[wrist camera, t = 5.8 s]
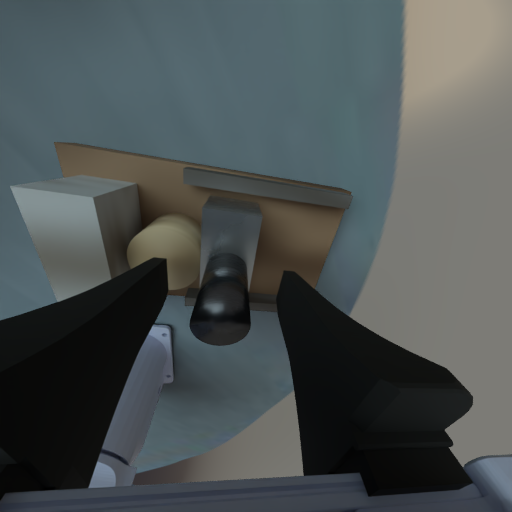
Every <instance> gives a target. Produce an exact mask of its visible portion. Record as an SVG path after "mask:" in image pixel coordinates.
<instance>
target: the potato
mask: <svg viewBox="0 0 512 512" xmlns="http://www.w3.org/2000/svg"><path fill="white" fill-rule="evenodd" d="M201 227H202V225H201V224H200V223H199V222H198V221H196V220H195V219H194V218H192V217H190V216H188V215H185V214H181V213H167V214H164V215H162V216H160V217H158V218H157V219H156V220H154V221H153V222H152V223H151V224H150V225H148V226H147V227H146V228H145V229H143V230H142V231H141V232H140V233H139V234H137V235H136V236H135V237H134V238H133V239H132V240H131V242H130V243H129V246H128V249H127V260H128V263H129V266H130V268H131V269H132V268H134V267H136V266H138V265H140V264H141V263H143V262H145V261H147V260H149V259H151V258H153V257H157V258H167V272H168V289H169V290H177V289H181V288H184V287H187V286H189V285H190V284H192V283H193V282H194V281H195V280H196V279H197V277H198V275H199V273H200V258H201Z"/></svg>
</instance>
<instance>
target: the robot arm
mask: <svg viewBox="0 0 512 512" xmlns="http://www.w3.org/2000/svg"><path fill="white" fill-rule="evenodd" d="M168 291H169V289H168V272H167V258H157V257H153V258H151V259H149V260H147V261H145V262H143V263H141V264H140V265H138V266H136V267H134V268H132V269H130V270H128V271H126V272H125V273H123V274H121V275H119V276H117V277H115V278H113V279H111V280H109V281H106V282H104V283H102V284H100V285H98V286H96V287H94V288H92V289H89V290H87V291H85V292H82V293H80V294H77V295H75V296H72V297H70V298H67V299H65V300H62V301H59V302H56V303H54V304H51V305H48V306H45V307H42V308H39V309H36V310H33V311H30V312H27V313H24V314H21V315H18V316H14V317H11V318H8V319H4V320H1V321H0V512H512V454H511V455H490V456H482V457H479V458H476V459H474V460H471V461H469V462H468V463H466V464H465V465H464V467H462V466H461V465H460V463H459V462H458V460H457V459H456V457H455V456H454V455H453V453H452V452H451V451H450V449H449V447H451V446H453V442H452V440H451V439H450V437H449V436H448V434H447V433H446V432H445V429H446V428H447V427H449V426H450V425H451V424H453V423H454V422H455V421H457V420H458V419H459V418H461V417H462V416H463V415H465V414H466V413H467V412H468V411H469V409H470V408H471V407H472V404H473V396H472V395H471V394H470V392H469V391H468V390H467V389H466V388H465V387H464V386H463V385H462V384H461V383H460V382H459V381H458V380H457V379H456V377H454V375H452V373H451V372H450V371H449V370H447V369H446V368H445V367H442V366H440V365H438V364H436V363H434V362H431V361H429V360H427V359H425V358H422V357H420V356H418V355H416V354H414V353H412V352H409V351H408V350H405V349H404V348H402V347H400V346H398V345H396V344H394V343H392V342H390V341H388V340H386V339H384V338H383V337H381V336H379V335H377V334H376V333H374V332H372V331H371V330H369V329H367V328H366V327H364V326H362V325H361V324H359V323H358V322H356V321H355V320H353V319H352V318H350V317H349V316H347V315H346V314H345V313H343V312H342V311H340V310H339V309H338V308H336V307H335V306H334V305H333V304H331V303H330V302H329V301H328V300H326V299H325V298H324V297H323V296H322V295H320V294H319V293H318V292H317V291H316V290H315V289H314V288H313V287H312V286H310V285H309V284H308V283H307V282H306V281H305V280H304V279H303V278H302V277H301V276H299V275H298V274H297V273H296V272H295V271H286V270H284V271H283V275H282V279H281V282H280V286H279V290H278V293H277V297H276V303H277V312H278V317H279V321H280V325H281V329H282V333H283V336H284V340H285V344H286V348H287V351H288V356H289V360H290V366H291V372H292V378H293V385H294V392H295V399H296V406H297V414H298V423H299V431H300V440H301V450H302V461H303V473H304V476H295V477H280V478H279V477H278V478H260V479H244V480H224V481H207V482H190V483H172V484H154V485H136V486H135V485H133V484H132V483H133V479H134V476H135V473H136V470H137V468H136V467H132V466H130V465H131V464H132V463H133V462H134V460H135V459H136V457H137V456H138V454H139V453H140V451H141V449H142V447H143V444H144V442H145V439H146V436H147V433H148V430H149V427H150V424H151V420H152V417H153V414H154V411H155V408H156V405H157V402H158V399H159V396H160V393H161V390H162V387H163V384H164V383H172V382H173V379H174V373H173V357H172V340H171V328H170V327H169V326H167V325H154V323H155V321H156V319H157V317H158V315H159V313H160V311H161V309H162V307H163V305H164V302H165V299H166V297H167V294H168ZM165 333H166V334H165Z"/></svg>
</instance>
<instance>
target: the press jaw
mask: <svg viewBox="0 0 512 512" xmlns="http://www.w3.org/2000/svg"><path fill="white" fill-rule="evenodd" d="M262 217H263V216H262V213H261V210H260V207H259V204H258V202H252V201H245V200H239V199H232V198H225V197H219V196H212V195H210V197H209V198H208V200H207V201H206V203H205V204H204V206H203V207H202V227H201V258H200V288H199V292H198V295H197V299H196V302H195V306H194V309H193V312H192V316H191V319H190V329H191V331H192V333H193V334H194V336H195V337H196V338H198V339H199V340H201V341H202V342H205V343H207V344H211V345H218V346H223V345H230V344H233V343H236V342H238V341H240V340H242V339H243V338H244V337H245V336H246V335H247V334H248V332H249V330H250V326H251V321H250V306H249V288H250V282H251V277H252V272H253V266H254V261H255V255H256V250H257V244H258V239H259V233H260V228H261V222H262Z"/></svg>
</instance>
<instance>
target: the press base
mask: <svg viewBox="0 0 512 512" xmlns="http://www.w3.org/2000/svg"><path fill="white" fill-rule="evenodd" d="M54 144H55V148H56V152H57V155H58V159H59V162H60V166H61V169H62V173H63V176H64V178H59V179H53V180H46V181H40V182H33V183H27V184H21V185H14V186H10V187H11V190H12V192H13V195H14V197H15V199H16V202H17V204H18V207H19V209H20V211H21V214H22V216H23V219H24V221H25V224H26V226H27V228H28V231H29V233H30V236H31V238H32V241H33V243H34V245H35V248H36V250H37V253H38V255H39V258H40V260H41V262H42V265H43V267H44V270H45V272H46V275H47V277H48V279H49V282H50V284H51V287H52V289H53V292H54V294H55V296H56V299H57V301H58V302H59V301H62V300H65V299H67V298H70V297H72V296H75V295H77V294H80V293H82V292H85V291H87V290H89V289H92V288H94V287H96V286H98V285H100V284H102V283H104V282H106V281H109V280H111V279H113V278H115V277H117V276H119V275H121V274H123V273H125V272H126V271H128V270H130V269H131V268H130V266H129V263H128V260H127V249H128V246H129V243H130V242H131V240H132V239H133V238H134V237H135V236H136V235H137V234H139V233H140V232H141V231H142V230H143V229H145V228H146V227H147V226H148V225H150V224H151V223H152V222H153V221H154V220H156V219H157V218H158V217H160V216H162V215H164V214H167V213H181V214H185V215H188V216H190V217H192V218H194V219H195V220H196V221H198V222H199V223H200V224H201V225H202V207H203V206H204V204H205V203H206V201H207V200H208V198H209V197H210V195H212V196H219V197H225V198H232V199H239V200H245V201H252V202H258V204H259V207H260V210H261V213H262V216H263V217H262V222H261V228H260V233H259V239H258V244H257V250H256V255H255V261H254V266H253V272H252V277H251V282H250V288H249V306H250V310H256V311H271V312H277V303H276V297H277V293H278V290H279V286H280V282H281V279H282V275H283V271H284V270H286V271H295V272H296V273H297V274H298V275H299V276H301V277H302V278H303V279H304V280H305V281H306V282H307V283H308V284H309V285H310V286H312V287H313V288H314V289H315V287H316V284H317V281H318V279H319V276H320V273H321V271H322V268H323V266H324V263H325V260H326V258H327V255H328V252H329V250H330V247H331V245H332V242H333V239H334V237H335V234H336V231H337V229H338V226H339V224H340V221H341V218H342V216H343V213H344V210H345V209H349V206H350V203H351V201H352V198H353V196H351V192H350V191H347V190H344V189H342V188H336V187H331V186H325V185H319V184H313V183H307V182H301V181H295V180H289V179H283V178H278V177H272V176H266V175H260V174H254V173H248V172H242V171H236V170H230V169H225V168H219V167H213V166H207V165H201V164H195V163H189V162H183V161H177V160H171V159H166V158H160V157H154V156H148V155H142V154H136V153H130V152H124V151H118V150H113V149H107V148H101V147H95V146H89V145H83V144H77V143H62V142H54ZM199 288H200V273H199V275H198V277H197V279H196V280H195V281H194V282H193V283H192V284H190V285H189V286H187V287H184V288H181V289H177V290H169V291H168V294H167V295H177V296H185V306H195V302H196V299H197V295H198V292H199Z"/></svg>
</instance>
